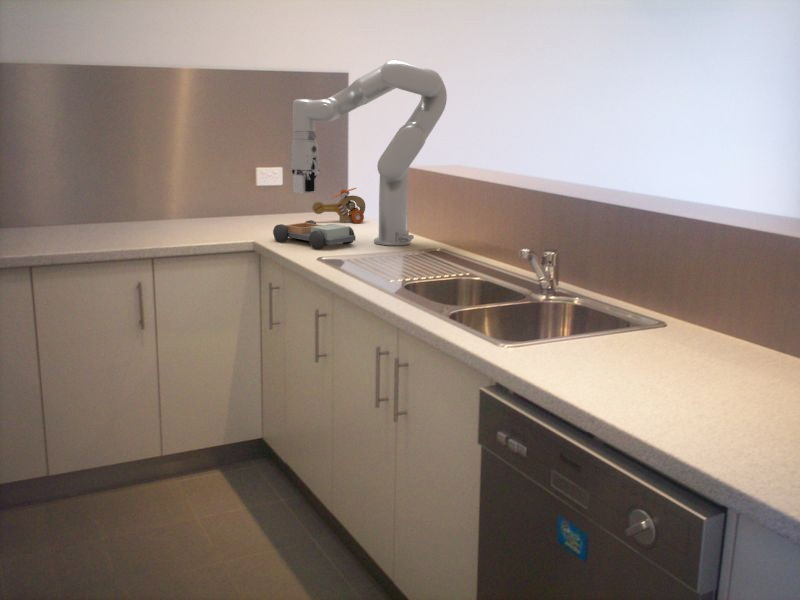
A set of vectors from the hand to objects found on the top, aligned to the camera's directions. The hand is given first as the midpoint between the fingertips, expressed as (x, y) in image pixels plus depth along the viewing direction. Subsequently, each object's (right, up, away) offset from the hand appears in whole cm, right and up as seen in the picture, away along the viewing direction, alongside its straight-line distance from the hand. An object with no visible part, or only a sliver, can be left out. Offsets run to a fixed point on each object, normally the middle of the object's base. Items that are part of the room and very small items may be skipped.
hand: (304, 190), depth 301 cm
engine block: (0, -1, 0) cm, 1 cm away
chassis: (+3, -18, -1) cm, 18 cm away
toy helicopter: (+9, -7, +46) cm, 47 cm away
